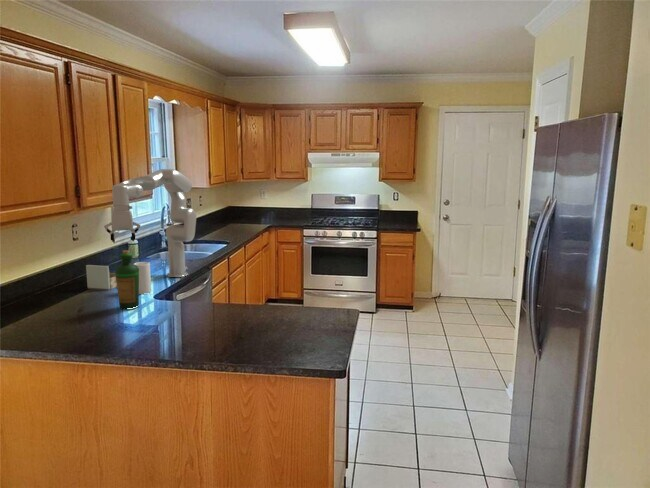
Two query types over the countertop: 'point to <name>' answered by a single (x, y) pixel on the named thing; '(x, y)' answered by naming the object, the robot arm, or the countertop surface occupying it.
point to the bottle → (127, 282)
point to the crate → (112, 280)
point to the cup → (144, 277)
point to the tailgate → (98, 277)
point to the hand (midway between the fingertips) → (123, 241)
